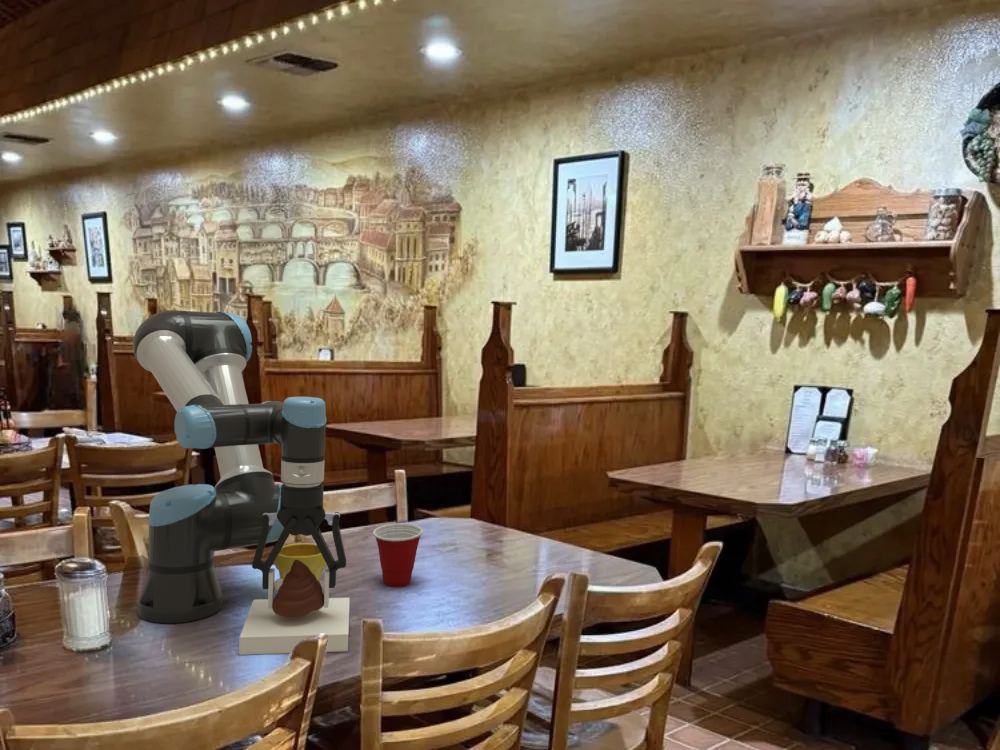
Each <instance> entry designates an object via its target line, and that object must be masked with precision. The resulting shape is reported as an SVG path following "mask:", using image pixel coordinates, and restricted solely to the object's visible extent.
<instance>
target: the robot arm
mask: <svg viewBox="0 0 1000 750" xmlns="http://www.w3.org/2000/svg"><path fill="white" fill-rule="evenodd" d="M252 343H253V340H252V334H251V330H250V328H249V326H248V323H247V322H246V320H244V318H243V317H242V316H240V315H238V314H236V313H231V312H226V311H215V312H214V311H213V312H211V311H194V310H177V309H170V310H169V309H168V310H164V311H159V312H156V313H154V314H152V315H150V316H149V317H148V318H146V319H145V320H143V321H142V323H140V325H139V326H138V327H137V329H136V331H135V333H134V335H133V340H132V350H133V354H134V357H135V358H136V360H137V362H138V363H139V365H140V366H141V367H142V368H143V369H144V370H145V371H148V372H150V373H152V375H153V377H154V379H155V380H156V381H157V383H158V384H159V386H160V388H161V389H162V390H163V393H164V394H165V396H166V397H167V399H168V400H169V402H170V404H171V405H172V406H173V408H174V409H175V411H176V414H175V418H174V434H175V435H176V442H177V443H178V445H179V446H180V447H182V448H185V449H200V450H205V449H210V448H214V451H215V456H216V461H217V465H218V471H219V476H220V479H219V481H217V483H216V484H215V486H213V485H211V484H207V483H206V484H205V483H198V484H186V485H180V486H175V487H171V488H168V489H165V490H162V491H161V492H159V493H157V494H156V495H155V496H154V497H152V499H151V501H150V503H149V513H148V514H149V515H148V519H147V524H148V568H147V569H148V570H147V574H146V578H145V581H144V583H143V586H142V589H141V592H140V594H139V597H138V600H137V616H138V617H139V618H141V619H142V620H145V621H146V622H147V621H148V622H152V623H159V624H160V623H161V624H177V623H187V622H193V621H194V622H195V621H197V620H201V619H205V618H207V617H210V616H212V615H214V614H216V613H218V612H219V611H220V610H221V609H222V607H223V592H222V588H221V587H220V583H219V580H218V577H217V574H216V571H215V567H214V564H215V563H214V559H215V558H214V556H215V553H216V552H217V551H218V552H219V551H226V550H231V549H233V550H234V549H240V548H245V547H251V546H257V547H256V549H255V552H254V557H253V560H252V562H251V563H252V564H251V568H252V569H253V570H258V571H261V573H262V576H261V577H262V579H261V580H262V581H261V582H262V583H261V586H262V589H263V590H267V592H268V593H267V595H268V596H267V599H268V609H272V603H273V600H274V598H275V590H274V583H275V575H276V574H275V572H276V571H275V570H276V567H274V568H271V567H272V566H273V564H274V563H275V559H276V557H277V555H278V554H279V552H280V550H281V548H282V547H283V546H285V543H286V541H287V539H288V538H289V537H290V535H291V536H299V535H302V536H310V535H311V538H312V539H313V540H314V543H315V544H317V546H318V548H319V550H320V552H321V554H322V556H323V558H324V560H325V562H326V566H327V567H325V571H324V593H323V594H324V608H328V605H329V598H330V589H335V587H336V586H337V585H336V583H337V571H338V570H339V569H344V568H346V567H347V557H346V553H345V552H346V551H345V547H344V542H343V538H342V533H341V529H340V519H341V513H340V512H339V511H335V512H334V513H333V512H326V510H325V508H324V488H325V487H324V485H323V484H322V482H323V481H324V480H325V452H326V451H325V449H326V430H327V429H326V428H327V420H328V419H327V416H326V415H327V414H326V413H327V410H326V401H324V399H322V398H320V397H313V396H291V397H287V398H285V399H284V401H283V402H282V401H278V400H276V401H275V400H274V401H271V400H268V401H263V402H261V403H249V400H248V395H247V391H246V388H245V387H246V386H245V382H244V378H243V373H242V372H243V371H244V370H245V368H246V366H247V362H248V361H249V360H250V358H251V356H252V353H253V345H252ZM267 444H268V445H271V444H278V445H281V457H280V458H281V459H280V460H281V461H280V462H281V465H280V467H281V468H280V481H281V482H282V484H280V483H275V479H274V475H273V473H272V472H271V471H269V470H268V469H266V468H264V465H263V460H262V456H261V451H260V448H259V445H267ZM324 520H326V521H327V525H328V526H331V534H332V537H333V543H334V546H335V551H336V556H337V560H335V557H334V556H333V554H332V552H331V550H330V548H329V547H328V544H327V542H326V540H325V538H324V536H323V534H322V532H321V529H320V527H319V526H320V525H321V524H322V523H323V522H324ZM273 542H274V543H275V544H274V546H273V547H272V550H270V553H269V554H268V557H267V558H266V560H265V561H264V560H262V558H263V554H264V551H265V548H266V544H270V543H273Z"/></svg>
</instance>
